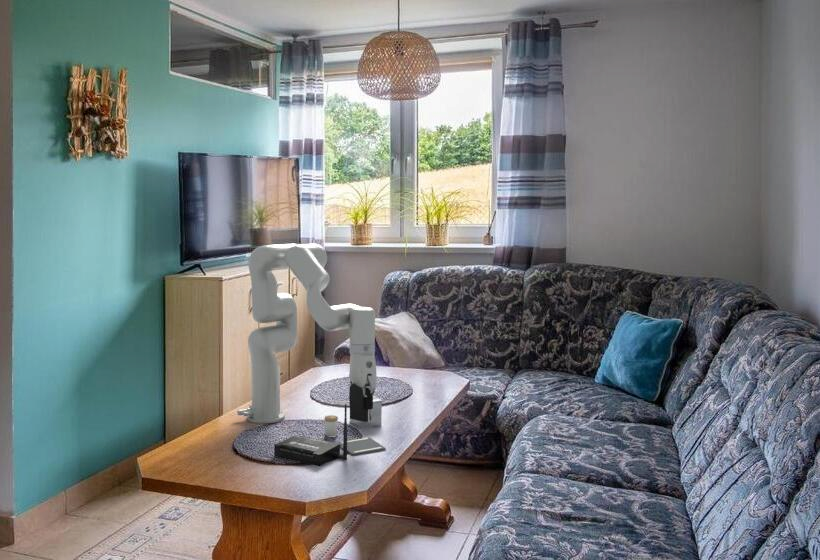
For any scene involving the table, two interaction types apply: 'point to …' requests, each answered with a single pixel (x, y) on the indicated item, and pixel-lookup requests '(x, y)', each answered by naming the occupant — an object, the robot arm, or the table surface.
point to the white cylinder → (331, 425)
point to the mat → (362, 446)
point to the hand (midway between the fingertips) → (361, 405)
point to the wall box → (375, 415)
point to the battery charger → (357, 404)
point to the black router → (311, 448)
